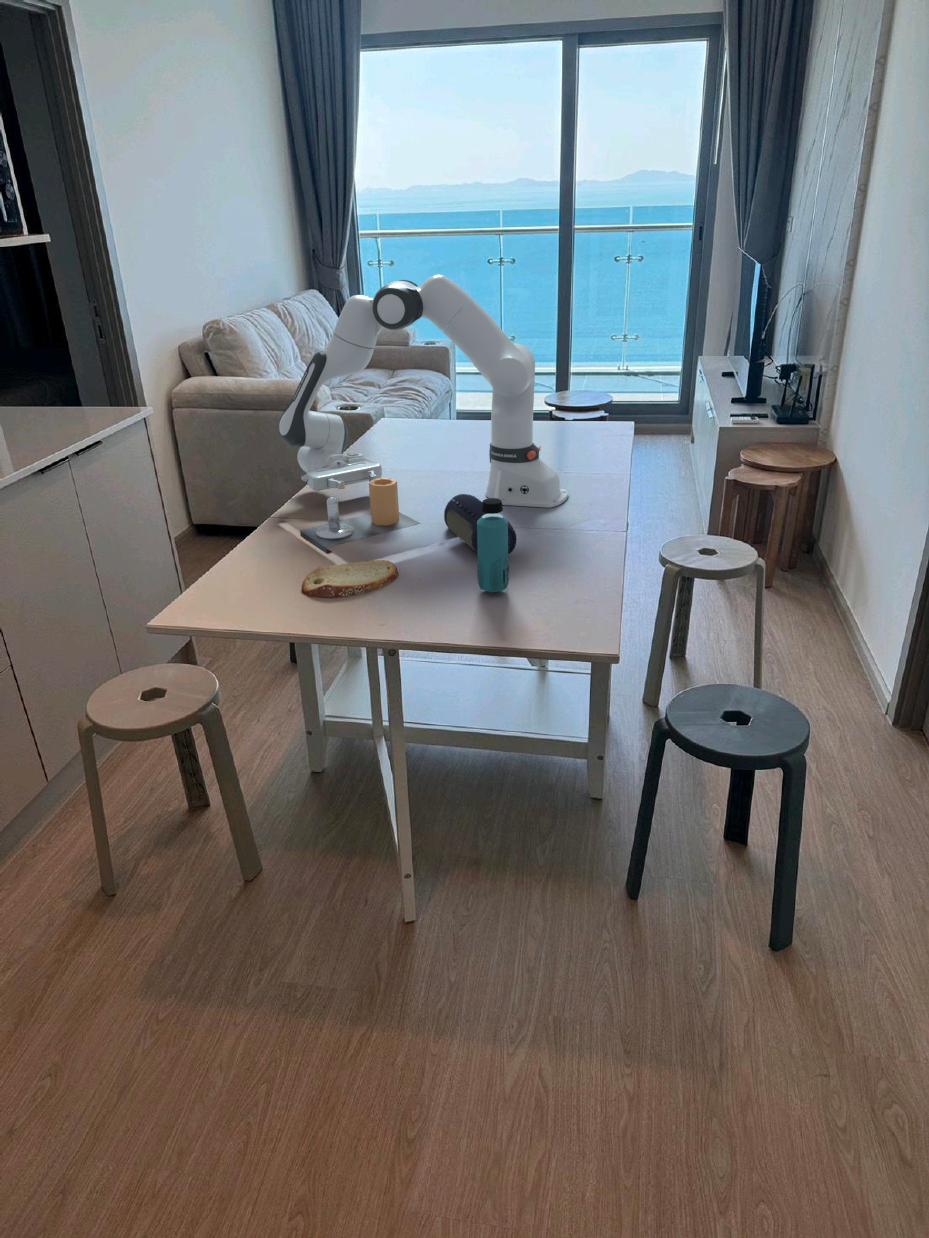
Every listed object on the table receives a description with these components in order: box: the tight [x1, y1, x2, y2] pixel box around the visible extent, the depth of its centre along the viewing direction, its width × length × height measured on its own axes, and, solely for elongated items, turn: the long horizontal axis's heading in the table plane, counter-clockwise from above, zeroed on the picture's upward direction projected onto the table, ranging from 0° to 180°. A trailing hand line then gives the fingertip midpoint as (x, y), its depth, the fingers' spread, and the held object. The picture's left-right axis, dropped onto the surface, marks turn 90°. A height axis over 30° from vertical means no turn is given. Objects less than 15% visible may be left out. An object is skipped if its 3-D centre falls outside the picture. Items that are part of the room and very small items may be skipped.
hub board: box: [299, 496, 421, 554], centre depth 202 cm, size 26×14×11 cm, turn 125°
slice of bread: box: [301, 559, 400, 599], centre depth 177 cm, size 18×18×4 cm
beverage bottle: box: [476, 497, 510, 593], centre depth 168 cm, size 6×7×20 cm
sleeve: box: [368, 477, 400, 525], centre depth 205 cm, size 6×6×10 cm
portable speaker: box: [443, 493, 518, 556], centre depth 193 cm, size 25×10×10 cm, turn 23°
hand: (358, 482), depth 213 cm, fingers open, 8 cm apart
